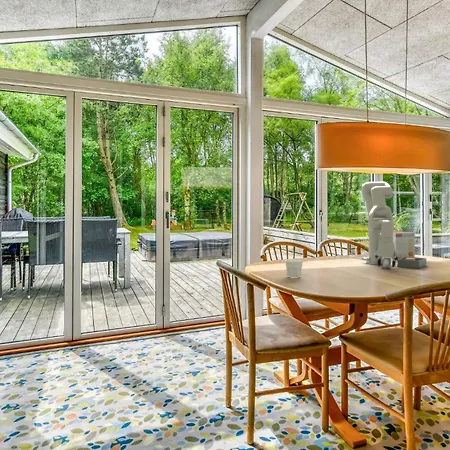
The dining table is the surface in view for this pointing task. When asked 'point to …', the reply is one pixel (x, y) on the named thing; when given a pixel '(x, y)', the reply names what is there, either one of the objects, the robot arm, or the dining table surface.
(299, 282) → the dining table surface
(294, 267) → the cup
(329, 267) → the dining table surface
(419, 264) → the tote
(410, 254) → the cracker box
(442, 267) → the dining table surface
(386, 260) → the metal cylinder
